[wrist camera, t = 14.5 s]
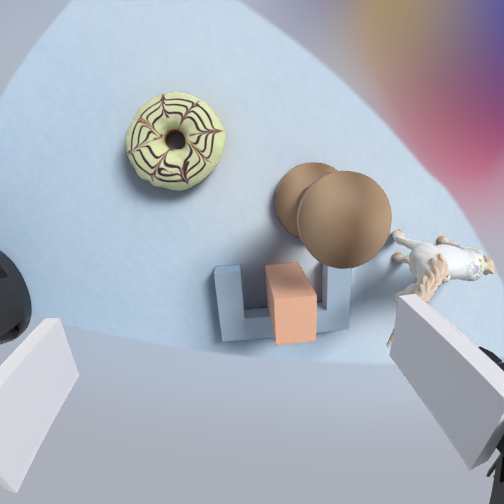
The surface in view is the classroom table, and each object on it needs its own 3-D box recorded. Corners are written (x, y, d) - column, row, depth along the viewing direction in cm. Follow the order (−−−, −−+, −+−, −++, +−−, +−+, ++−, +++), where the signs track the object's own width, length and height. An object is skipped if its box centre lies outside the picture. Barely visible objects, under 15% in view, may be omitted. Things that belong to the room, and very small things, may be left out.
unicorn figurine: (338, 240, 38) (384, 279, 26) (461, 210, 38) (526, 233, 25) (345, 292, 40) (387, 347, 28) (462, 258, 40) (521, 291, 27)
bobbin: (276, 241, 38) (294, 279, 26) (272, 164, 36) (290, 166, 24) (349, 235, 38) (394, 269, 26) (348, 161, 36) (396, 165, 24)
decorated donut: (193, 204, 37) (188, 209, 33) (118, 159, 35) (106, 159, 31) (242, 127, 34) (242, 123, 31) (164, 82, 32) (156, 75, 29)
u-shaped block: (222, 331, 41) (222, 341, 39) (215, 266, 39) (213, 273, 36) (342, 319, 42) (348, 328, 39) (345, 255, 39) (352, 261, 37)
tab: (267, 302, 40) (276, 345, 31) (265, 264, 39) (274, 299, 29) (298, 299, 40) (316, 340, 31) (297, 262, 39) (317, 295, 29)
